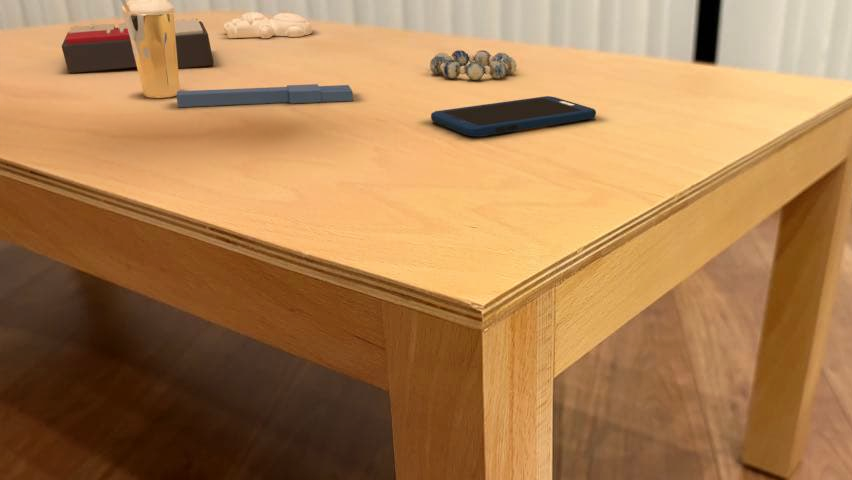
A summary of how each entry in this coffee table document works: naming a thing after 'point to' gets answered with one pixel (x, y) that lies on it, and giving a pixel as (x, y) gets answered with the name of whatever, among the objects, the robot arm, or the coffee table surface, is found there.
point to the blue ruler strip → (265, 95)
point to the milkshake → (153, 45)
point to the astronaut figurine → (267, 26)
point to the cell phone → (512, 115)
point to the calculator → (130, 47)
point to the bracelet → (472, 64)
